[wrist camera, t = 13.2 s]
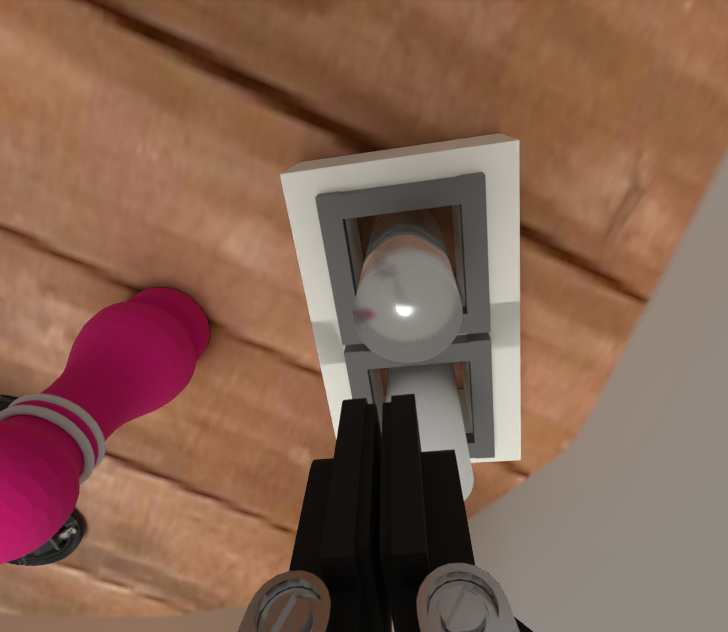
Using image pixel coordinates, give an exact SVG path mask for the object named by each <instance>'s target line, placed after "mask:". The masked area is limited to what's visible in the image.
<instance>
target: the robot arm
mask: <svg viewBox="0 0 728 632" xmlns="http://www.w3.org/2000/svg"><path fill="white" fill-rule="evenodd" d="M392 621H393V625H394V630H395V632H533V631H532V630H530V629H529V628H528V627H526V626H525V625H524V624H523V623H521V622H520V621H519V620H517V619H516V618H515V617H514V615H513V613H512V610H511V607H510V605H509V602H508V599H507V597H506V595H505V593H504V591H503V590H502V588H501V586H500V584H499V583H498V582H497V581H496V580H495V579H494V578H493V577H492V576H491V575H490V574H489V573H488V572H485V571H484V570H482V569H481V568H479V567H477V566H475V562H474V556H473V551H472V545H471V539H470V534H469V528H468V522H467V516H466V511H465V505H464V499H463V493H462V488H461V482H460V476H459V470H458V465H457V459H456V454H455V450H454V449H453V450H440V451H426V452H422V451H421V443H420V434H419V426H418V417H417V409H416V401H415V394H404V395H393V396H391V402H385V403H383V405H382V435H381V429H380V423H379V417H378V411H377V406H376V403H373V404H368V401H367V398H359V399H347V400H343V401H342V406H341V413H340V420H339V426H338V433H337V440H336V446H335V453H334V458H332V459H318V460H313V462H312V464H311V468H310V472H309V477H308V482H307V487H306V491H305V496H304V501H303V506H302V511H301V516H300V521H299V525H298V530H297V535H296V540H295V545H294V550H293V554H292V559H291V564H290V569H289V571H288V572H285V573H282V574H279V575H276V576H275V577H273V578H272V579H270V580H269V581H267V582H266V583H265V584H264V585H263V586H262V587H261V588H260V589H259V590H258V591H257V592H256V593H255V595H254V597H253V599H252V600H251V602H250V604H249V606H248V608H247V610H246V613H245V615H244V618H243V620H242V622H241V625H240V627H239V630H238V632H392Z"/></svg>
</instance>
